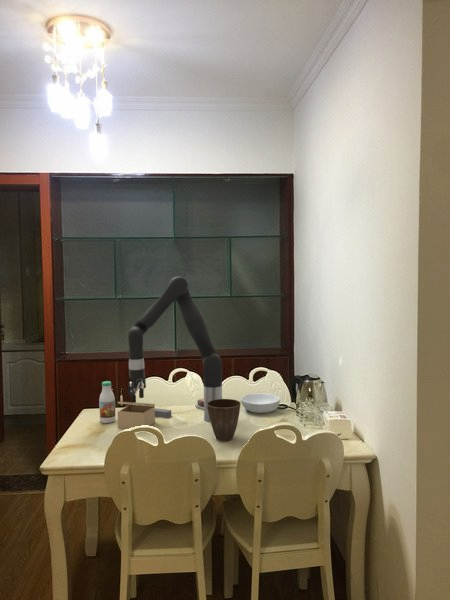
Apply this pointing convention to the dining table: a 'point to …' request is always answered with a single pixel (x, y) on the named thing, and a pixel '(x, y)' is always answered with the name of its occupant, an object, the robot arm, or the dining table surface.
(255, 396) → the serving bowl
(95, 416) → the dining table surface
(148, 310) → the robot arm
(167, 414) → the grey rectangular bar
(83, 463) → the dining table surface
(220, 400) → the plant pot
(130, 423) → the box
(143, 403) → the lid
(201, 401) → the packaged product
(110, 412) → the milk bottle
